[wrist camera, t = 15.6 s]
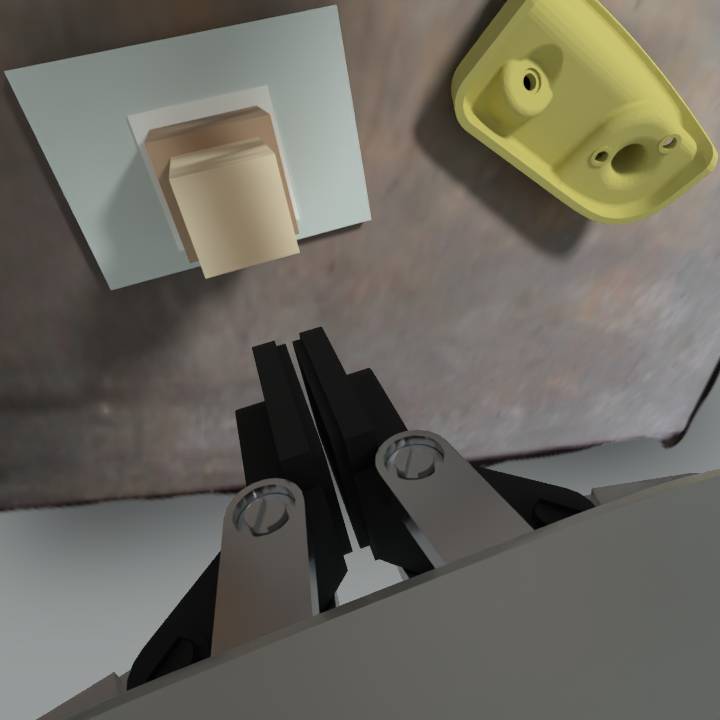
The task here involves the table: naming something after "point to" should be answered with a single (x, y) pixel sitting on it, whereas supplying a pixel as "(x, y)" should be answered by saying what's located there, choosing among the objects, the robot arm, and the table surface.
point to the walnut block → (205, 136)
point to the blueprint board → (189, 102)
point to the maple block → (233, 205)
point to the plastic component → (580, 110)
